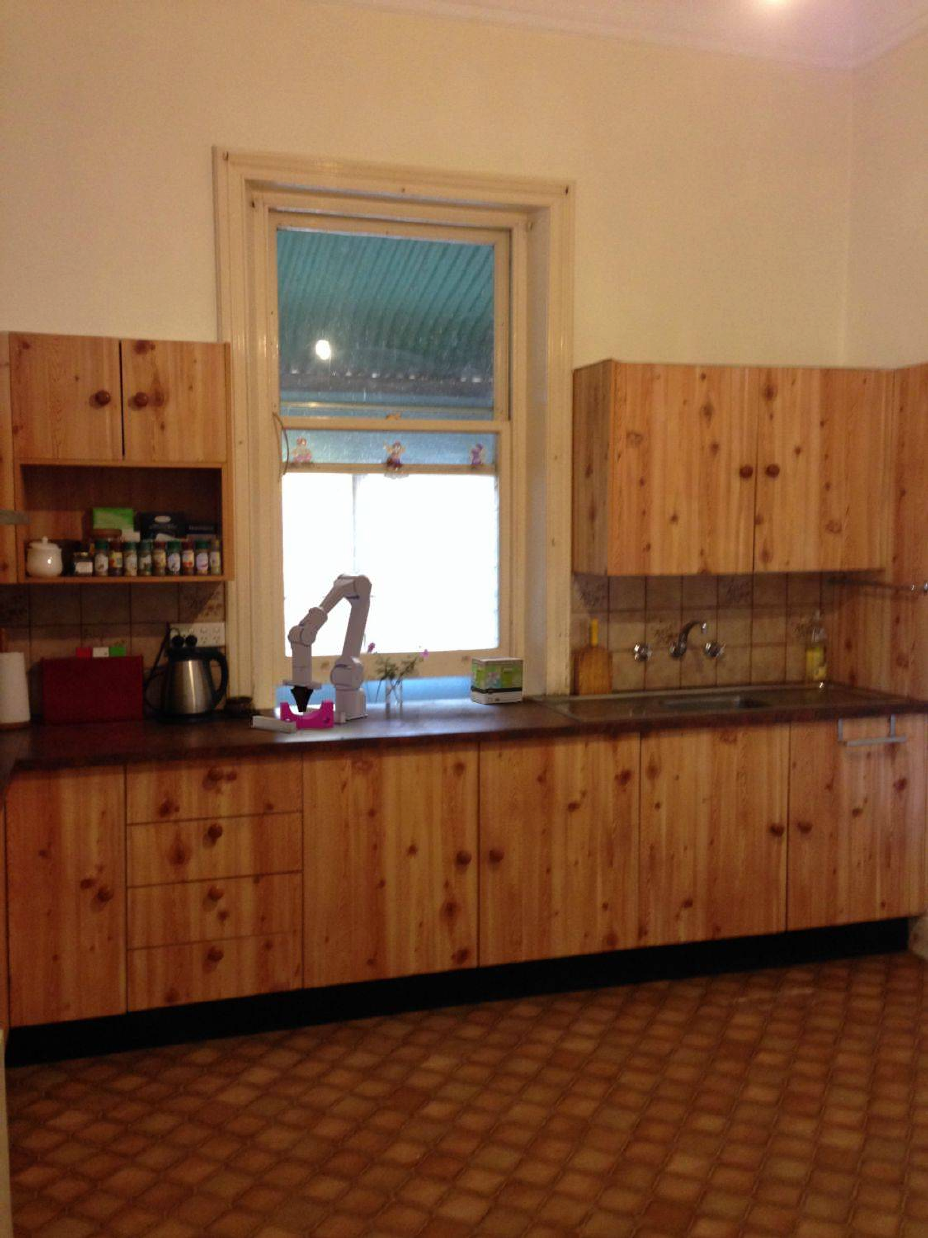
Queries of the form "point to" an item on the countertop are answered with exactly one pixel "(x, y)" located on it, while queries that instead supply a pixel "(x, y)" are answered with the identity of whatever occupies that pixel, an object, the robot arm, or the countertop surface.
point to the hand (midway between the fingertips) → (302, 712)
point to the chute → (288, 722)
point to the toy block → (310, 716)
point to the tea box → (496, 680)
